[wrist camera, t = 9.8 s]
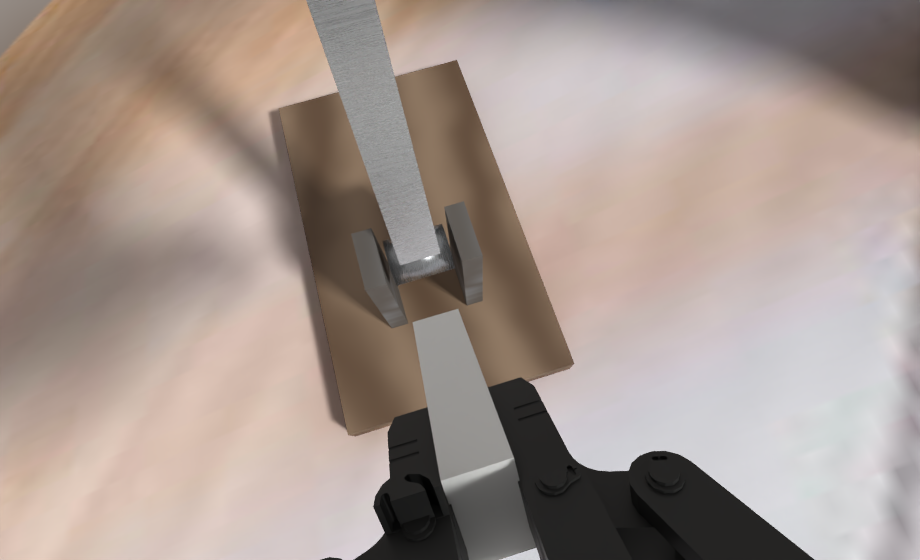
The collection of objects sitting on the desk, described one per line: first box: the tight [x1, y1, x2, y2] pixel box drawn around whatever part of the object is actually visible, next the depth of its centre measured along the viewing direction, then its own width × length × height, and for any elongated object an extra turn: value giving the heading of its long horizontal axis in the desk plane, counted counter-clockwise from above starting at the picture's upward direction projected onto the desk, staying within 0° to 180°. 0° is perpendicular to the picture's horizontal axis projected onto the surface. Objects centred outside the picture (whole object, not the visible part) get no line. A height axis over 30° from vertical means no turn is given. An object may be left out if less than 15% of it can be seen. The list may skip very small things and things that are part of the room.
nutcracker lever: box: [306, 0, 455, 286], centre depth 23 cm, size 4×8×24 cm, turn 17°
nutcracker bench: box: [279, 60, 574, 436], centre depth 35 cm, size 16×28×10 cm, turn 17°
